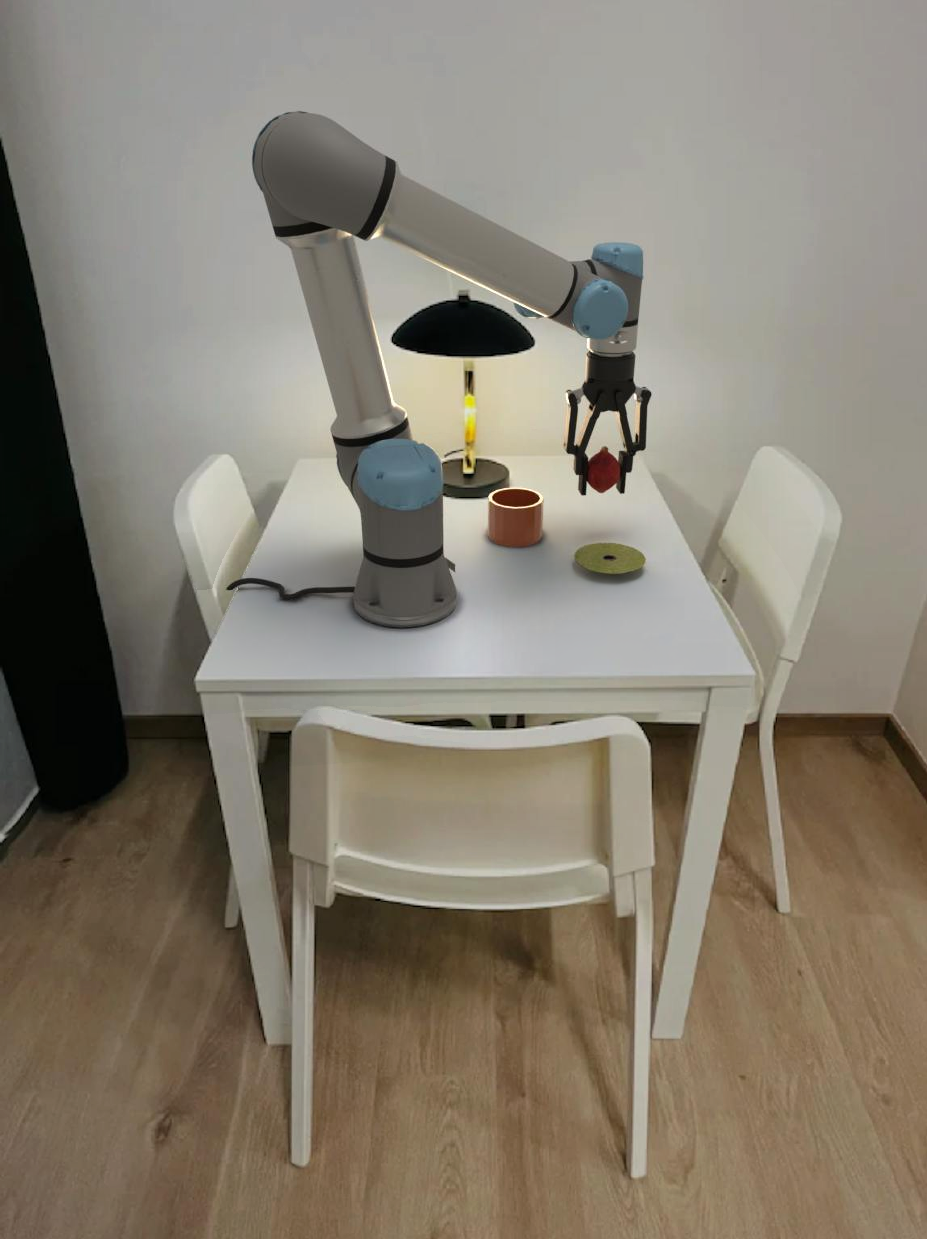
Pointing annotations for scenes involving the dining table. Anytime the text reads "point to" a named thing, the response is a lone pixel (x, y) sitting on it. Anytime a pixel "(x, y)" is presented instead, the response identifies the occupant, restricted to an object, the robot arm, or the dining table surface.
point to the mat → (609, 558)
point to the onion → (603, 471)
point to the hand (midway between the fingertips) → (601, 491)
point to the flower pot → (515, 517)
